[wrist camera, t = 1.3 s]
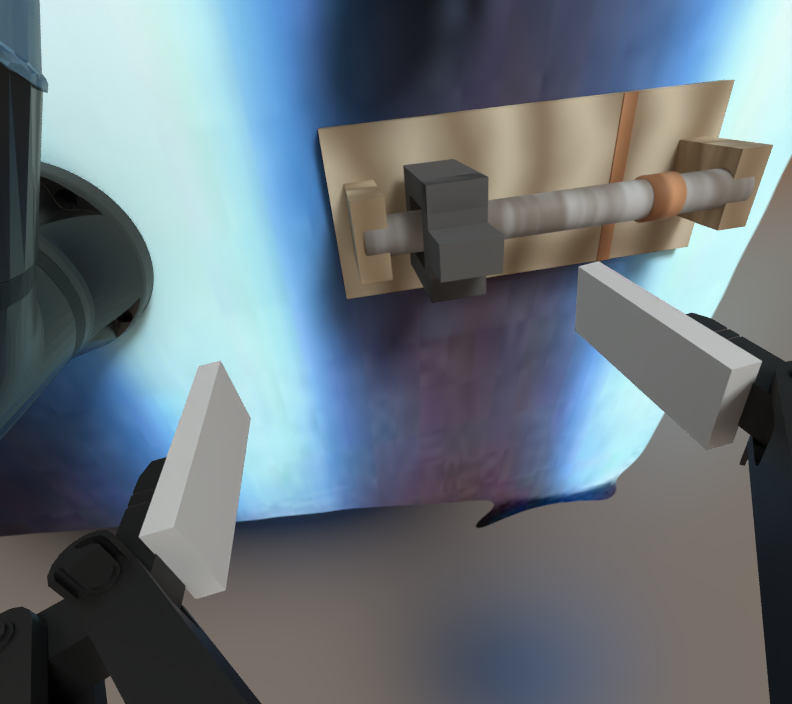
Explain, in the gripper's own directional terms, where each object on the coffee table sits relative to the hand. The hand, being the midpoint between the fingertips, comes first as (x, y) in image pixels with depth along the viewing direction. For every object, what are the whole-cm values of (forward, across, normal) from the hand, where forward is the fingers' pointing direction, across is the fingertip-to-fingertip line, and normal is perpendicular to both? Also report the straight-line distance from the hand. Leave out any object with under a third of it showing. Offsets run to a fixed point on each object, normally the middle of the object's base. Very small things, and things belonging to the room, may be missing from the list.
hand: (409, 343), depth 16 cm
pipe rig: (+24, +15, -3) cm, 29 cm away
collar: (+22, +6, -2) cm, 23 cm away
